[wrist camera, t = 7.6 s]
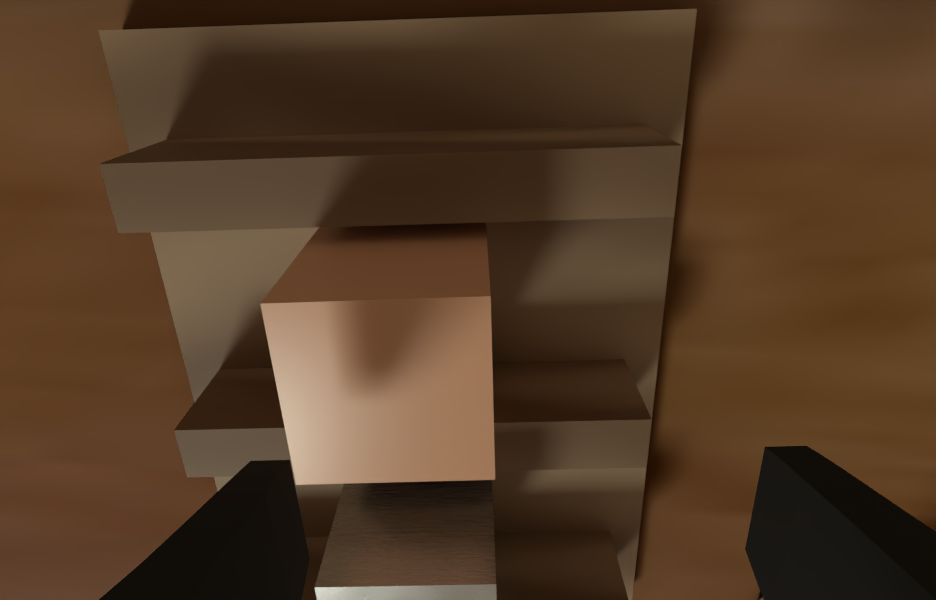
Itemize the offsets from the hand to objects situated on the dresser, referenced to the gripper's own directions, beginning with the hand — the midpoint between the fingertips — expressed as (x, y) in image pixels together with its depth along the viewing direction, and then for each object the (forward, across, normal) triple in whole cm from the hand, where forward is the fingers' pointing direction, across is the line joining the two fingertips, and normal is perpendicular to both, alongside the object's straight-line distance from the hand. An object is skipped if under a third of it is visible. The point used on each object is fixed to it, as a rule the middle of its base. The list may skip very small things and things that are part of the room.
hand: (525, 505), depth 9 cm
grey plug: (+8, +2, +6) cm, 11 cm away
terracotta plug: (+8, +2, -1) cm, 9 cm away
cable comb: (+9, +2, +3) cm, 10 cm away
